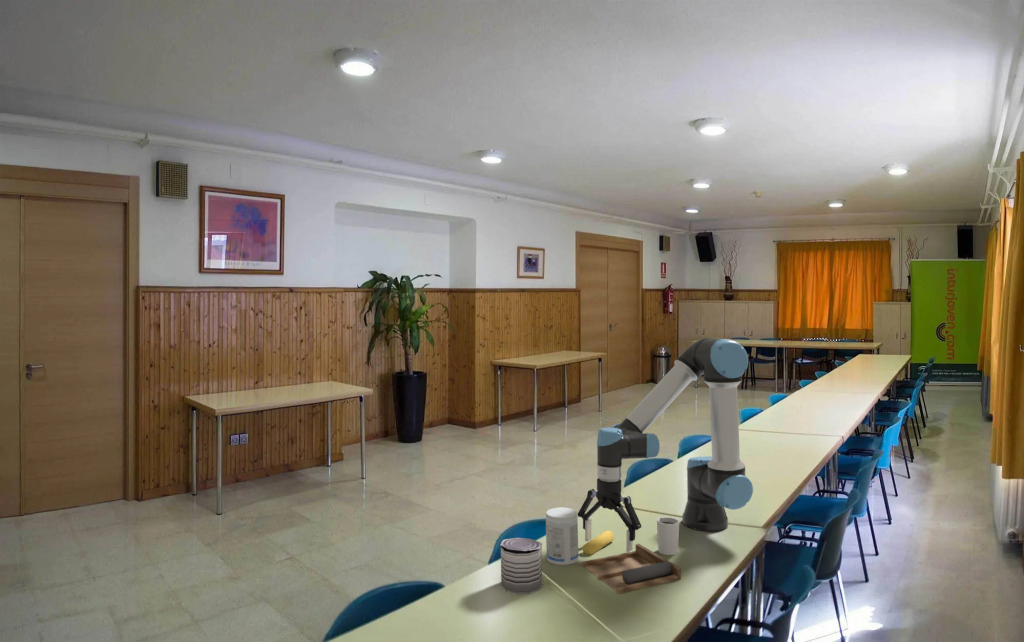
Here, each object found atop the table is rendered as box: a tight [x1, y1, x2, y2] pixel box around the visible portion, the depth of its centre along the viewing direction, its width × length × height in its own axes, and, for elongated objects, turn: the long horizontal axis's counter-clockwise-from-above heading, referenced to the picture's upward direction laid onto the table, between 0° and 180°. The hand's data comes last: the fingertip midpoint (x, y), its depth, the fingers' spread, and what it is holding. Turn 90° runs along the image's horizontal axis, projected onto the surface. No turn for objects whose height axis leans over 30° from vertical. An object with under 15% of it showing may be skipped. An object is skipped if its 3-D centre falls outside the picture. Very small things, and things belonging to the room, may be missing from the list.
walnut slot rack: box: [581, 543, 682, 594], centre depth 185 cm, size 20×20×3 cm
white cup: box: [656, 516, 680, 556], centre depth 199 cm, size 7×7×10 cm
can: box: [499, 537, 543, 595], centre depth 178 cm, size 11×11×12 cm
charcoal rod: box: [622, 561, 672, 585], centre depth 180 cm, size 14×4×4 cm, turn 114°
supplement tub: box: [545, 506, 579, 566], centre depth 195 cm, size 10×10×15 cm
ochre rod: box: [581, 530, 615, 555], centre depth 204 cm, size 14×4×4 cm
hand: (608, 546), depth 202 cm, fingers open, 14 cm apart
